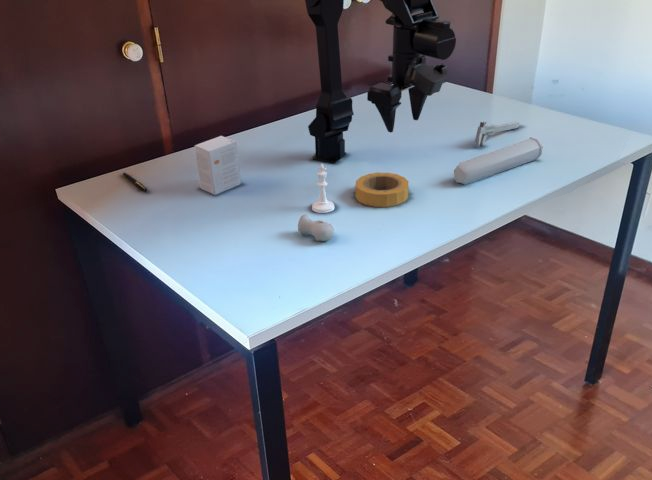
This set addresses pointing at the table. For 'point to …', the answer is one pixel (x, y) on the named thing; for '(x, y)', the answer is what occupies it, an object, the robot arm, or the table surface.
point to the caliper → (492, 131)
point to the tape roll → (382, 198)
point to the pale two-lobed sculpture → (315, 228)
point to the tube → (498, 161)
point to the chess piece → (322, 194)
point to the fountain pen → (135, 182)
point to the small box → (218, 164)
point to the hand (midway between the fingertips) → (403, 125)
